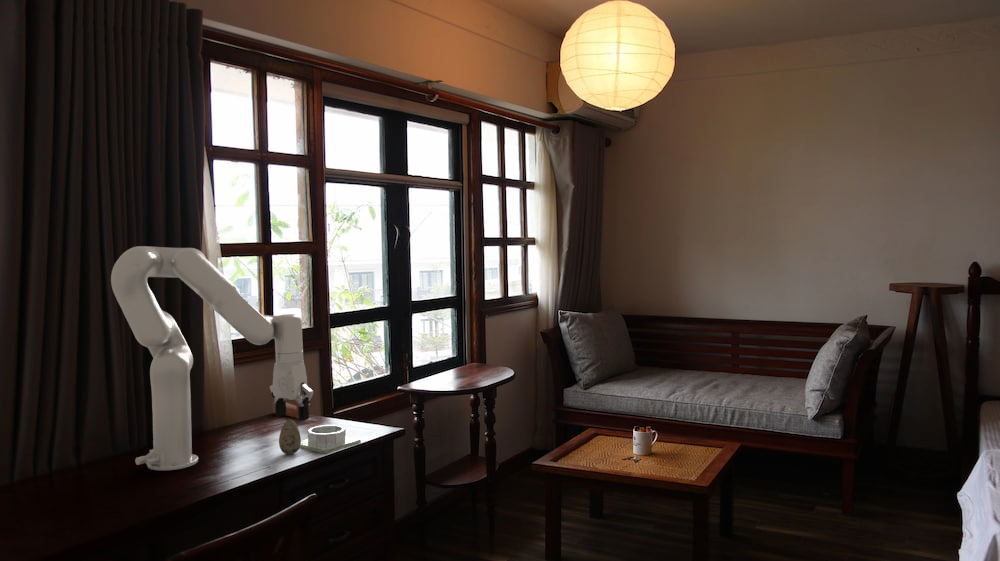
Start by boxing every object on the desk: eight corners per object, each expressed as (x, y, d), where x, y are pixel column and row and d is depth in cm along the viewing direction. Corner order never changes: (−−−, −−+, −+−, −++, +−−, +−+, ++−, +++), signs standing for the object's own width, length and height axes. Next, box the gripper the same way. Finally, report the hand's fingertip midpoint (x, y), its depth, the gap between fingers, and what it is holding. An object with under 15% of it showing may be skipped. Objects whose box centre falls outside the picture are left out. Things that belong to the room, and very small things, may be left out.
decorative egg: (304, 454, 204) (304, 419, 204) (285, 458, 200) (285, 423, 199) (294, 450, 208) (293, 416, 208) (275, 454, 204) (274, 419, 203)
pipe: (302, 422, 241) (302, 393, 241) (268, 414, 252) (268, 386, 251) (314, 419, 245) (313, 390, 245) (280, 412, 256) (280, 384, 255)
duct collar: (325, 453, 204) (325, 438, 204) (292, 446, 212) (292, 431, 212) (360, 442, 216) (360, 427, 216) (328, 435, 224) (328, 421, 224)
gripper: (259, 358, 204) (261, 417, 205) (299, 362, 195) (302, 424, 196) (280, 354, 211) (283, 411, 212) (320, 358, 201) (323, 418, 202)
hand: (292, 417), depth 204 cm, fingers open, 9 cm apart
